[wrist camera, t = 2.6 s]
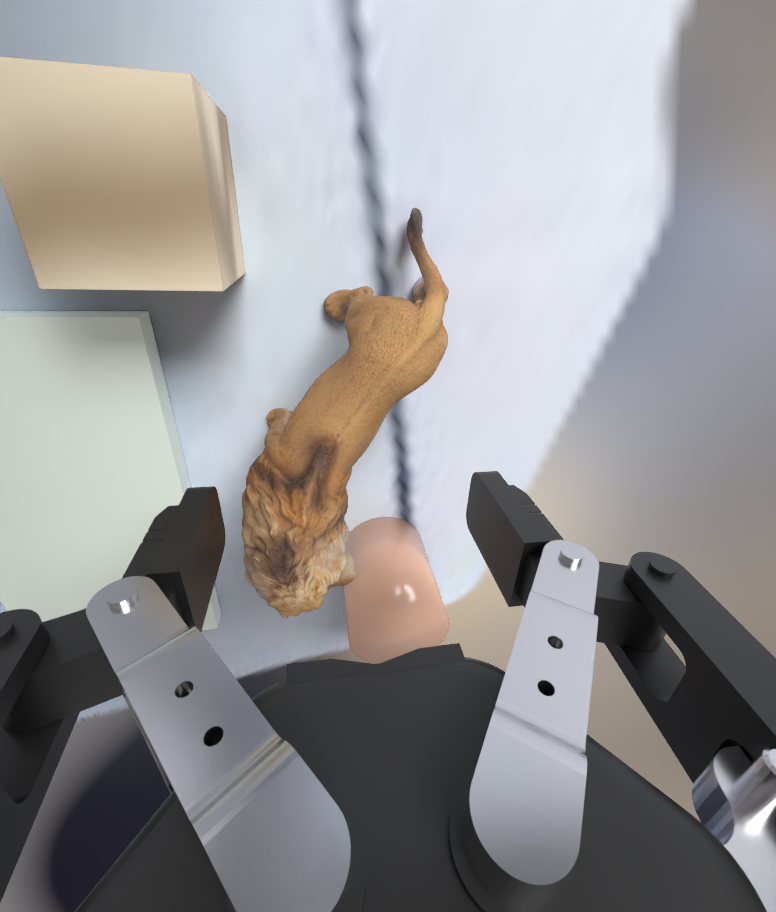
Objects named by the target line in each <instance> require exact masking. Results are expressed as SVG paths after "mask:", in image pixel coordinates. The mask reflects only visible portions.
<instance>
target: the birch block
mask: <svg viewBox="0 0 776 912" xmlns="http://www.w3.org/2000/svg"><path fill="white" fill-rule="evenodd" d="M0 178H1V181H2V184H3V187H4V190H5V192H6V195H7V198H8V201H9V204H10V207H11V209H12V212H13V215H14V218H15V221H16V223H17V226H18V229H19V232H20V235H21V238H22V240H23V243H24V246H25V249H26V252H27V254H28V257H29V260H30V263H31V266H32V269H33V271H34V274H35V277H36V280H37V283H38V285H39V288H40V289H86V290H162V291H224V290H226V289H227V288H228V287H229V286H230V285H232V284H233V283H234V282H235V281H237V280H238V279H239V278H240V277H241V276H243V275H244V274H245V265H244V257H243V249H242V241H241V233H240V225H239V216H238V208H237V200H236V192H235V184H234V176H233V168H232V160H231V152H230V144H229V136H228V128H227V119H226V116H225V114H224V113H223V112H222V111H221V110H220V108H219V107H218V106H217V105H216V104H215V102H214V101H213V100H212V99H211V98H210V96H209V95H208V94H207V93H206V92H205V90H204V89H203V88H202V87H201V86H200V84H199V83H198V82H197V81H196V80H195V78H194V77H193V76H192V75H191V74H190V73H178V72H167V71H156V70H145V69H134V68H123V67H112V66H100V65H89V64H78V63H67V62H56V61H45V60H34V59H22V58H11V57H0Z"/></svg>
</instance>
